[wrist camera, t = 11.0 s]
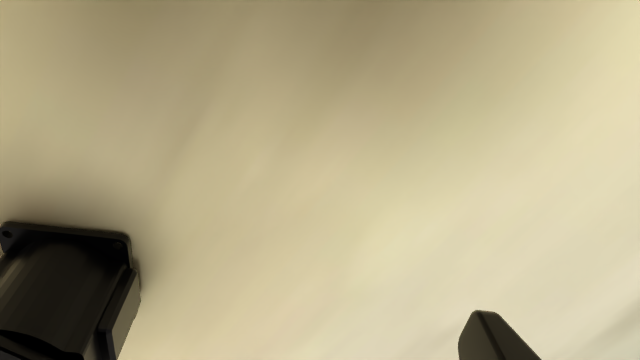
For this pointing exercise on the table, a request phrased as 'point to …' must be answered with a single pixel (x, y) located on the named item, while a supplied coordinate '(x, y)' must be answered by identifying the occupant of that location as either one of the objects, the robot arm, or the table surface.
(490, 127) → the table surface
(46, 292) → the robot arm
